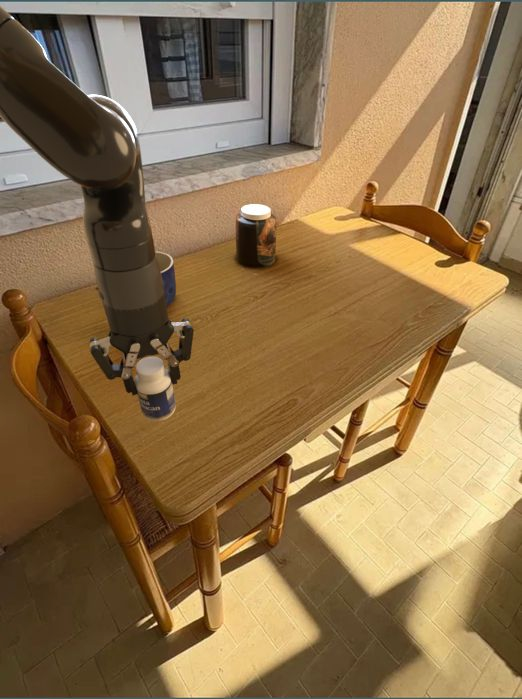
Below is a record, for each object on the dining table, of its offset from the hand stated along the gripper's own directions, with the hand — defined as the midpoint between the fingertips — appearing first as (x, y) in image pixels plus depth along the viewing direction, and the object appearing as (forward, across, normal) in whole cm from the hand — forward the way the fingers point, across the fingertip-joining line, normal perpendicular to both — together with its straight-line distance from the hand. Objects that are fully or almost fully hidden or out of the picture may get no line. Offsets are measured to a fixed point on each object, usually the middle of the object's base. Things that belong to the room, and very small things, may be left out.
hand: (154, 385), depth 58 cm
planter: (+12, -6, -42) cm, 44 cm away
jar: (+12, -39, -54) cm, 68 cm away
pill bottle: (+6, 0, 0) cm, 6 cm away
